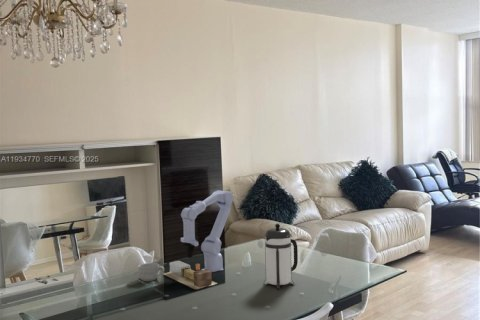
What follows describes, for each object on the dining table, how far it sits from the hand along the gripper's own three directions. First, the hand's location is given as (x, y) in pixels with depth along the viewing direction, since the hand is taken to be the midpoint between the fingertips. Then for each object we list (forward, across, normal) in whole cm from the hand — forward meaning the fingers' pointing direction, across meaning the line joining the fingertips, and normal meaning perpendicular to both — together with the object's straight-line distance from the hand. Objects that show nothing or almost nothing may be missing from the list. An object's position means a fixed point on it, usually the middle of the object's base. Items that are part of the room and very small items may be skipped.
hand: (189, 257), depth 249 cm
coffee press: (+10, +39, +28) cm, 49 cm away
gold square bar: (+9, +7, -2) cm, 11 cm away
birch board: (+10, +3, -2) cm, 11 cm away
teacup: (+11, -9, -17) cm, 22 cm away
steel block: (+10, -6, -2) cm, 12 cm away
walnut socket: (+10, +16, -2) cm, 19 cm away
